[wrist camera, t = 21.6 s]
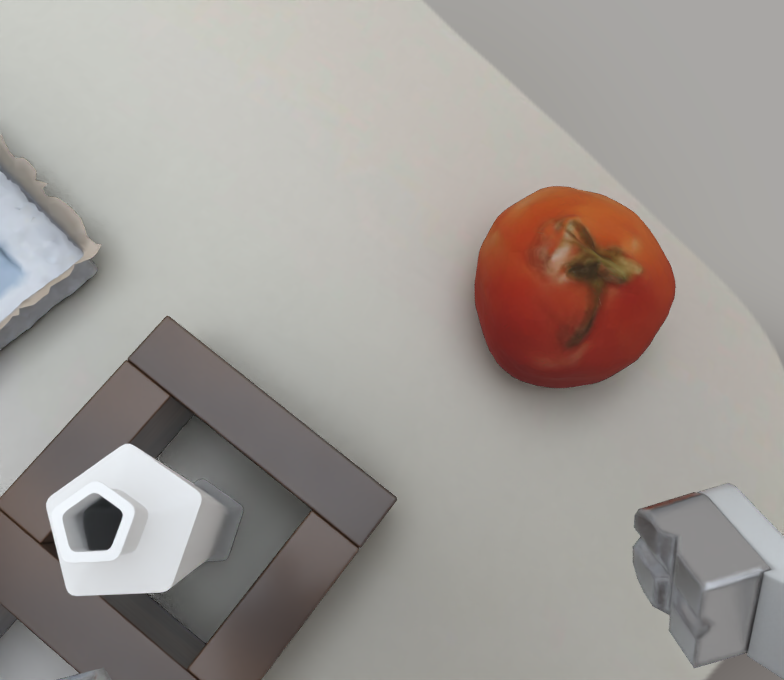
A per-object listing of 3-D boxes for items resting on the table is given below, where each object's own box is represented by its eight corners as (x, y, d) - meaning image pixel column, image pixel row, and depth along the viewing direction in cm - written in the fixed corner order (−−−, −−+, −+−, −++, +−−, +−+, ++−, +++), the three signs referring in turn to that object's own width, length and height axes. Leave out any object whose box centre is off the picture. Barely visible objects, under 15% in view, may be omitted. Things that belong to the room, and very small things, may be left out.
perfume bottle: (188, 598, 32) (64, 659, 18) (134, 519, 33) (-27, 517, 19) (271, 533, 33) (217, 542, 19) (217, 458, 34) (124, 411, 20)
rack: (190, 342, 35) (166, 314, 31) (390, 501, 34) (398, 498, 29) (-172, 747, 30) (-270, 790, 25) (49, 953, 29) (-10, 1039, 24)
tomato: (549, 194, 39) (600, 113, 31) (668, 322, 37) (753, 270, 30) (419, 298, 37) (439, 238, 29) (539, 436, 35) (595, 412, 28)
